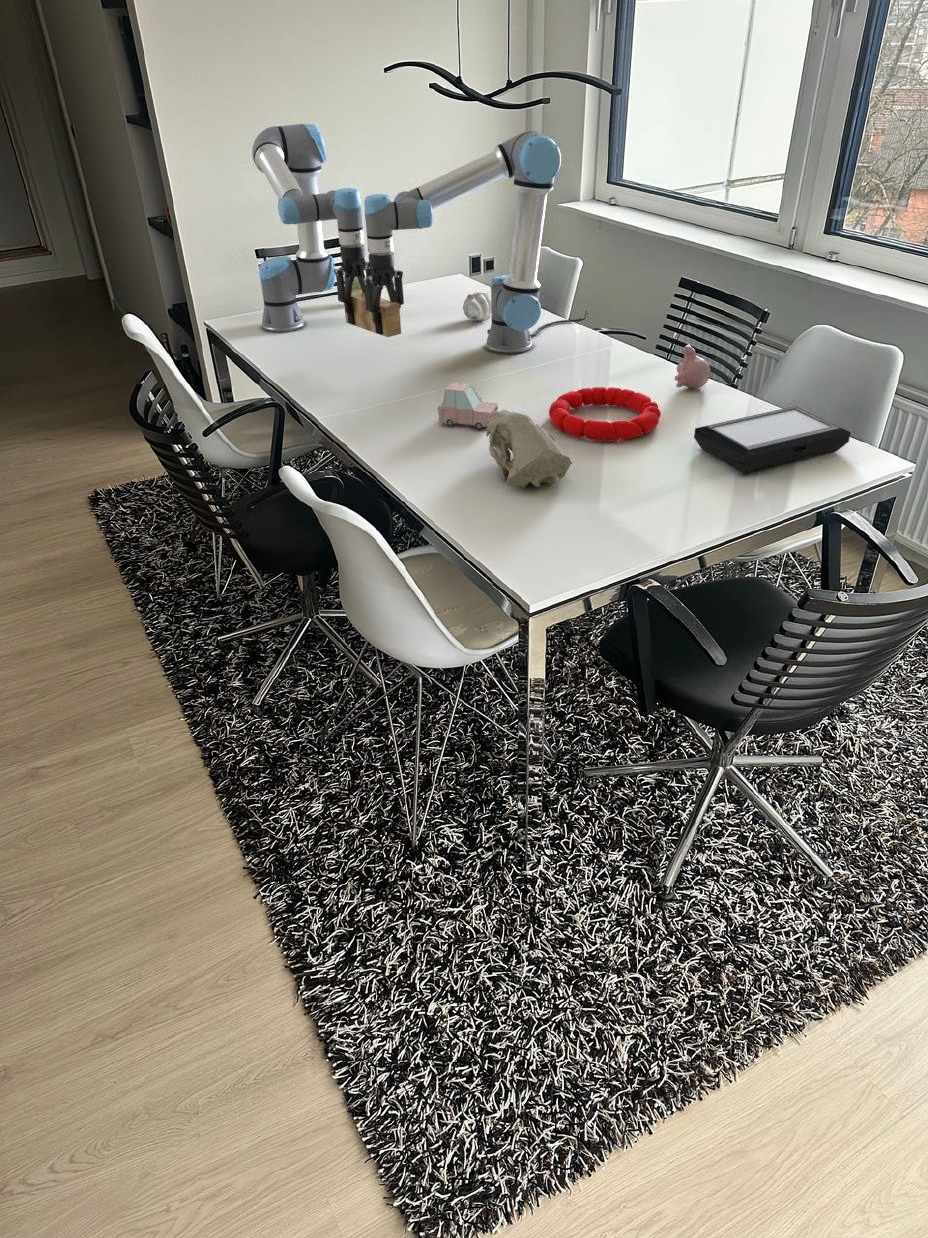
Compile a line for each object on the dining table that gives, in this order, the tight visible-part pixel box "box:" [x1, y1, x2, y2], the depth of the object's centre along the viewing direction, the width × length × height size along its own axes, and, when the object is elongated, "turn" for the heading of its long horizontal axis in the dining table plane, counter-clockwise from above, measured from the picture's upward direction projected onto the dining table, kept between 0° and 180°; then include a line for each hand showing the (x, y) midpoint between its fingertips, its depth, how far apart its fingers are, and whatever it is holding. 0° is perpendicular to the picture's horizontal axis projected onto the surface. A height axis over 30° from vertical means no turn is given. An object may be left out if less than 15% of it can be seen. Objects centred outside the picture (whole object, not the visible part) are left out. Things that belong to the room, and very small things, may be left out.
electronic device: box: [693, 405, 852, 475], centre depth 223 cm, size 32×6×20 cm
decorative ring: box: [548, 386, 661, 442], centre depth 242 cm, size 7×30×30 cm
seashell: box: [462, 292, 492, 322], centre depth 323 cm, size 10×15×10 cm
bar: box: [344, 291, 402, 338], centre depth 279 cm, size 23×5×9 cm, turn 41°
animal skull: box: [485, 409, 573, 489], centre depth 216 cm, size 17×25×20 cm
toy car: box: [437, 382, 499, 431], centre depth 243 cm, size 9×15×10 cm, turn 70°
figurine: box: [674, 344, 711, 390], centre depth 259 cm, size 9×11×12 cm
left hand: (359, 321), depth 286 cm, fingers closed on bar, 5 cm apart
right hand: (387, 331), depth 276 cm, fingers closed on bar, 5 cm apart
